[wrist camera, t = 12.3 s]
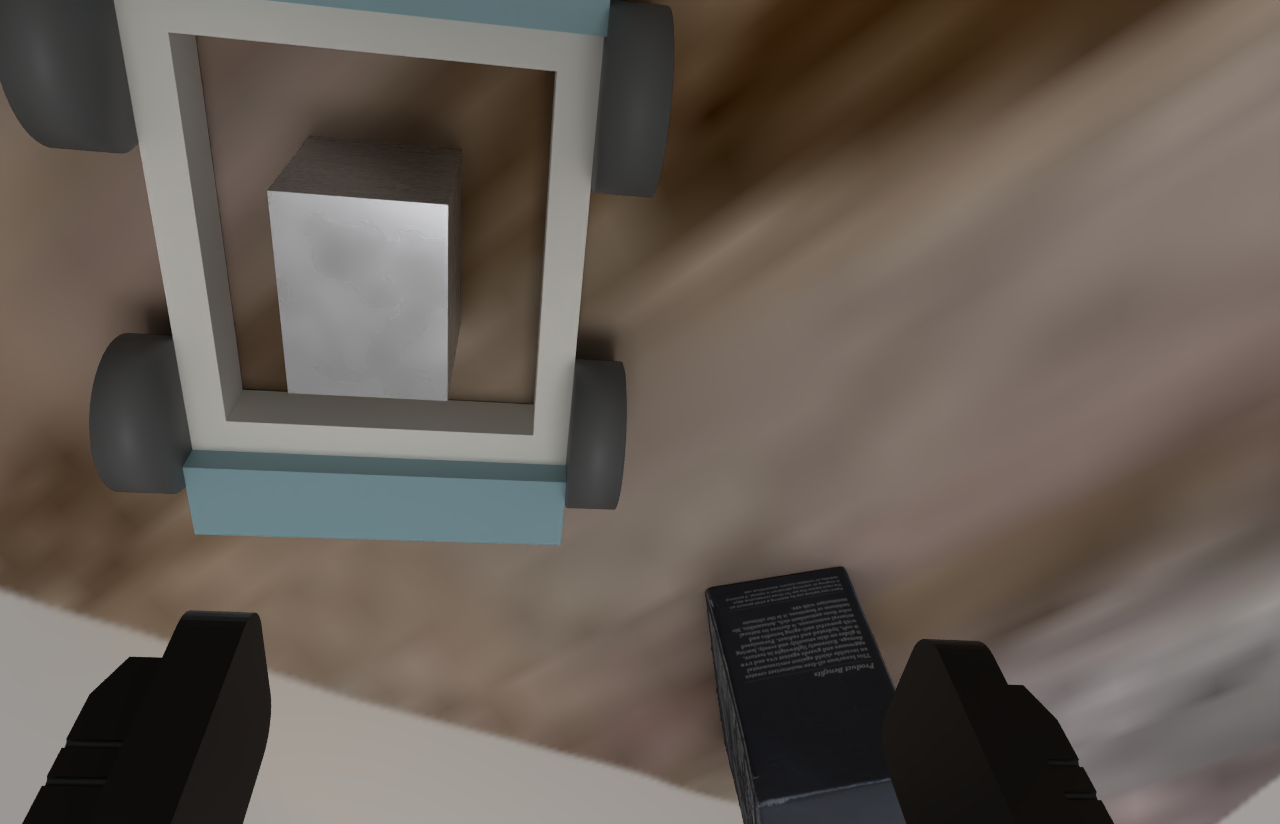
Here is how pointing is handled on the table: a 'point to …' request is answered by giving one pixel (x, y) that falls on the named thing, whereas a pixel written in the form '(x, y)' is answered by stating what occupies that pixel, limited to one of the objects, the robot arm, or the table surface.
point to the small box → (802, 701)
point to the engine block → (369, 267)
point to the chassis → (199, 290)
